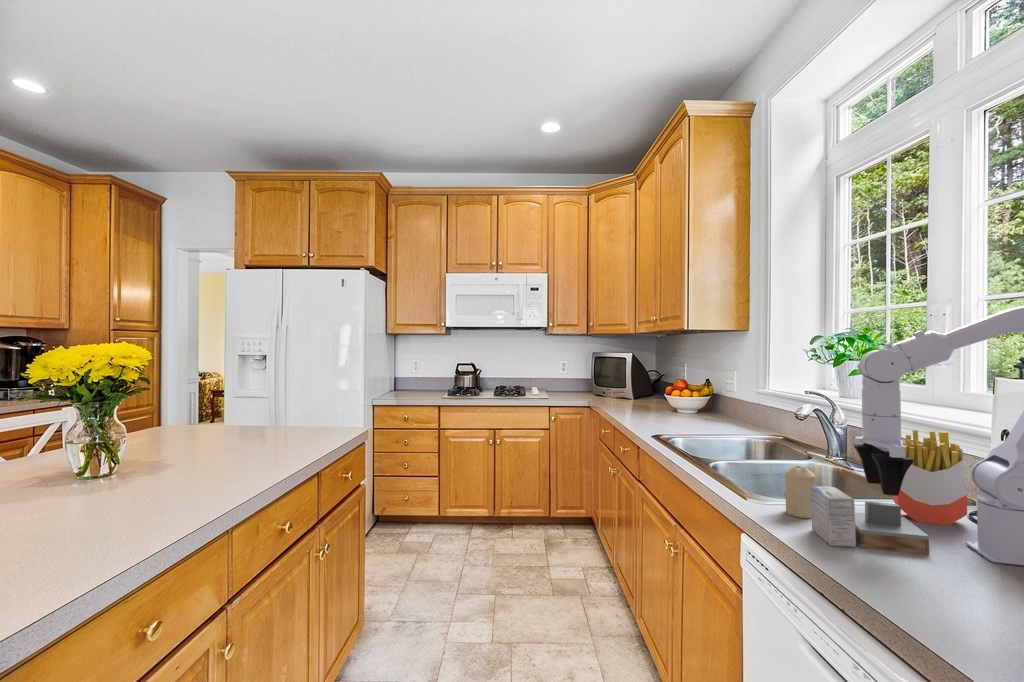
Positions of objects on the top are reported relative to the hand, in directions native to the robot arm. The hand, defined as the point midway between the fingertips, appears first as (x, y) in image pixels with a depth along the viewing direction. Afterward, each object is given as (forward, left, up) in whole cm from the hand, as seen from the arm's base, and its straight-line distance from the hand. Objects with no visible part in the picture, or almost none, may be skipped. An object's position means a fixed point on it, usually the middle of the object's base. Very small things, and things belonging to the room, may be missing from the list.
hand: (882, 488), depth 90 cm
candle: (+11, -11, -10) cm, 18 cm away
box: (0, 0, -9) cm, 9 cm away
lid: (0, 0, -7) cm, 7 cm away
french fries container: (-13, -15, -10) cm, 22 cm away
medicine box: (+8, +2, -10) cm, 13 cm away
